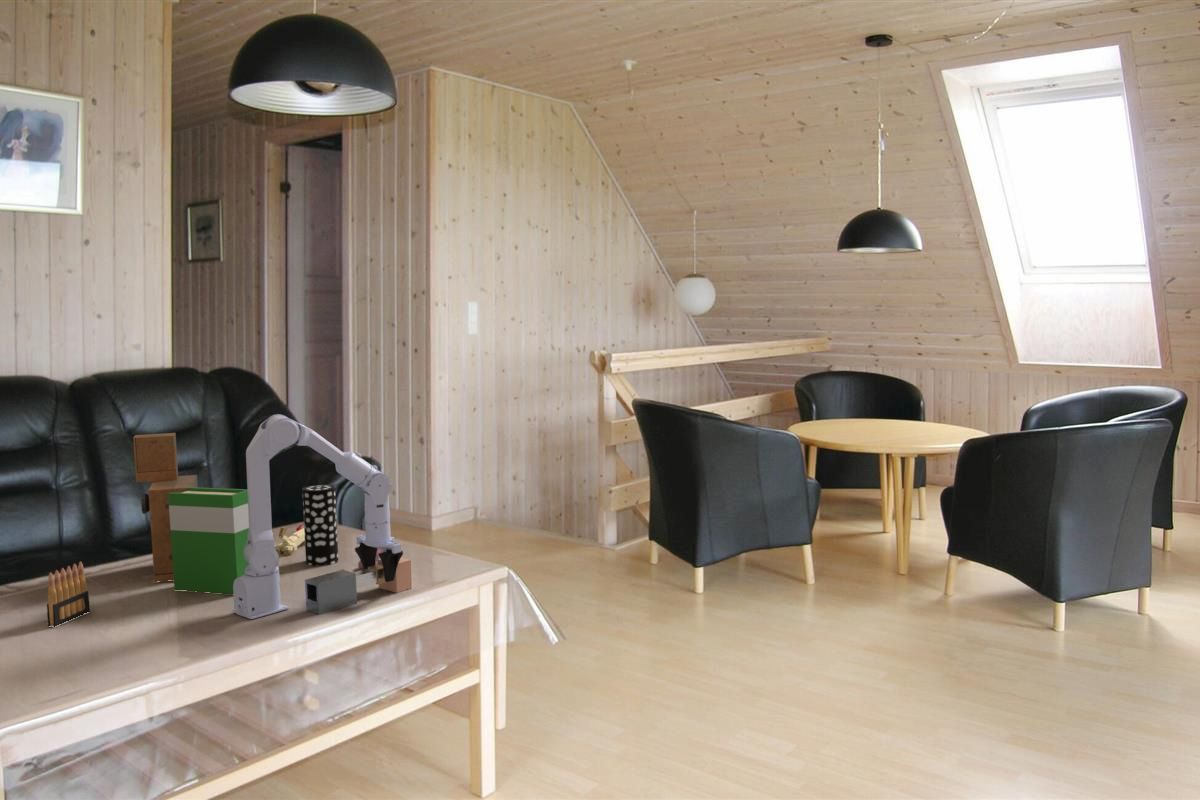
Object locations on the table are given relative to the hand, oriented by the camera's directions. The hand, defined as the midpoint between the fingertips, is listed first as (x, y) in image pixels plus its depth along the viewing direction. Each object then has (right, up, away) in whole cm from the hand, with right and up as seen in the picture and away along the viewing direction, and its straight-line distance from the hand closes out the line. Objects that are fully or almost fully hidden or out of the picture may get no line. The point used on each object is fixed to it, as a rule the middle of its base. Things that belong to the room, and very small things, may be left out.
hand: (379, 578), depth 232 cm
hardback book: (-41, -4, +6) cm, 42 cm away
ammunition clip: (-65, -7, -16) cm, 67 cm away
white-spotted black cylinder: (-22, -1, +29) cm, 36 cm away
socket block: (+3, -3, +4) cm, 6 cm away
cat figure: (-32, 0, +48) cm, 58 cm away
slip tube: (-2, -1, -3) cm, 4 cm away
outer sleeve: (-9, -5, -10) cm, 14 cm away
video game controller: (-7, -1, +25) cm, 26 cm away
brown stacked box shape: (-58, -2, +23) cm, 63 cm away
